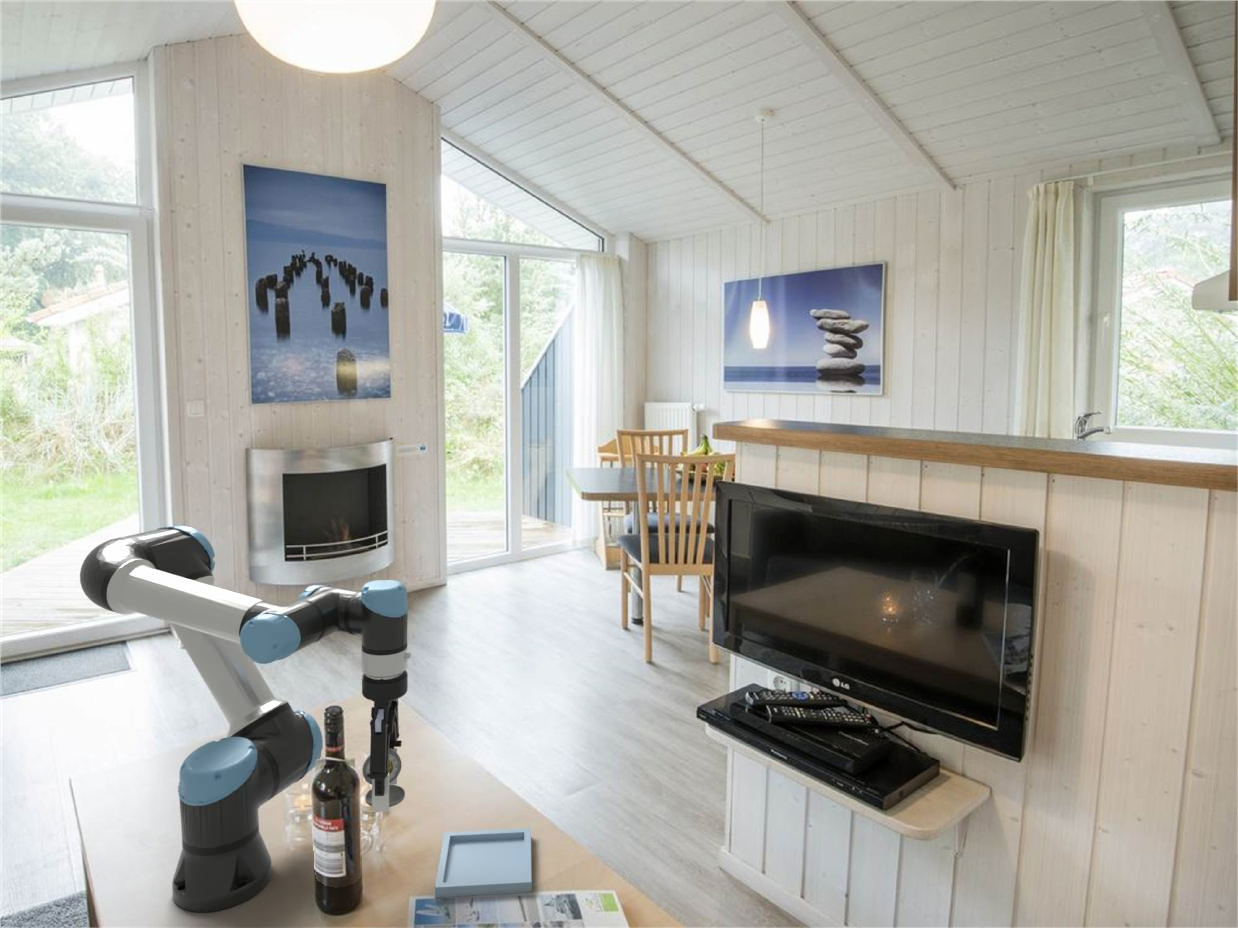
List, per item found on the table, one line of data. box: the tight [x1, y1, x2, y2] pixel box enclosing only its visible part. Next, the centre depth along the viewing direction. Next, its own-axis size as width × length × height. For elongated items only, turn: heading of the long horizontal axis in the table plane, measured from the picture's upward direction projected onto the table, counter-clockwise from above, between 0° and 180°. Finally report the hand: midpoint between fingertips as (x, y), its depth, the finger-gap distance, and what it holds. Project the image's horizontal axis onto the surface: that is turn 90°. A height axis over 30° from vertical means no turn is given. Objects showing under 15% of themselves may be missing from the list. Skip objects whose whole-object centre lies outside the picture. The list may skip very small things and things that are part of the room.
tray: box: [434, 827, 532, 898], centre depth 143 cm, size 16×16×2 cm
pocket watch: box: [361, 749, 406, 808], centre depth 141 cm, size 8×8×10 cm
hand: (385, 796), depth 141 cm, fingers closed on pocket watch, 8 cm apart
